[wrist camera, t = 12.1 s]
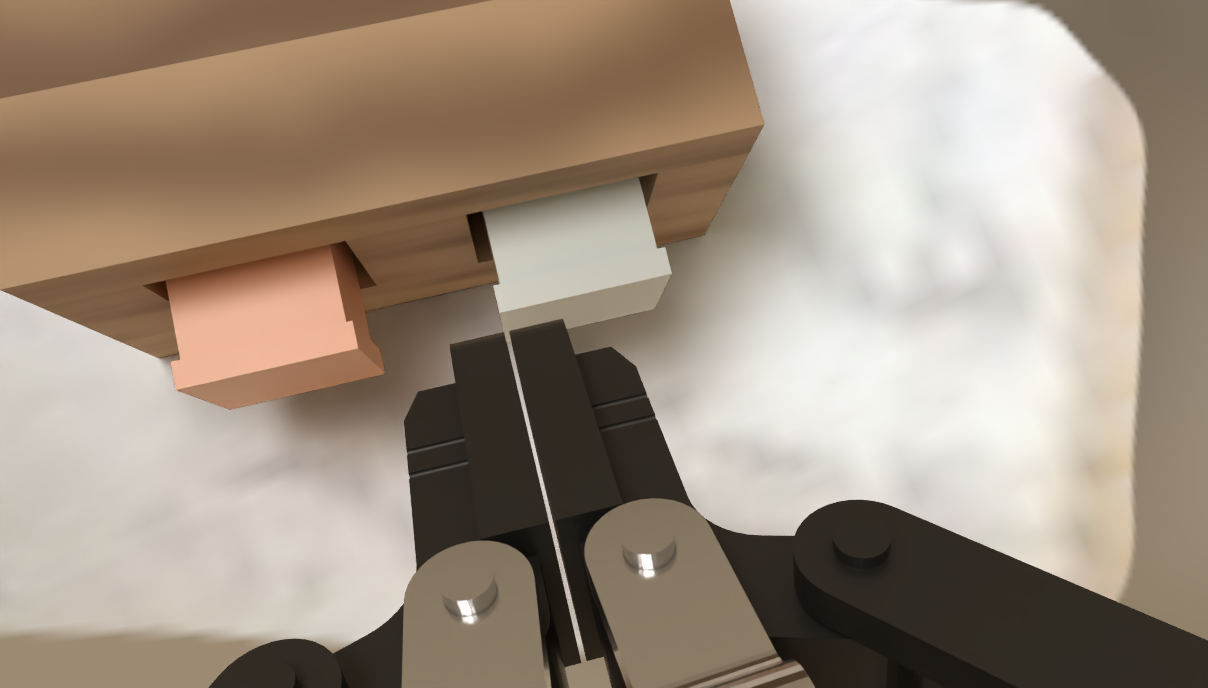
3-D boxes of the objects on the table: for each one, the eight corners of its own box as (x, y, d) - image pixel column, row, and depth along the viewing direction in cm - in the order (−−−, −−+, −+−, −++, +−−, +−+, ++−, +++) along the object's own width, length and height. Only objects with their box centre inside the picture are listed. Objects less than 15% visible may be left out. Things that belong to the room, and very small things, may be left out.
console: (110, 95, 39) (-58, -71, 28) (638, -12, 41) (671, -206, 30) (158, 357, 37) (-1, 289, 27) (704, 235, 39) (764, 124, 28)
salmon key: (191, 208, 35) (132, 156, 30) (343, 176, 35) (309, 119, 30) (229, 409, 34) (175, 390, 29) (385, 373, 34) (358, 348, 29)
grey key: (460, 148, 36) (447, 88, 31) (605, 117, 36) (614, 53, 31) (506, 343, 35) (499, 312, 30) (654, 308, 35) (672, 273, 30)
